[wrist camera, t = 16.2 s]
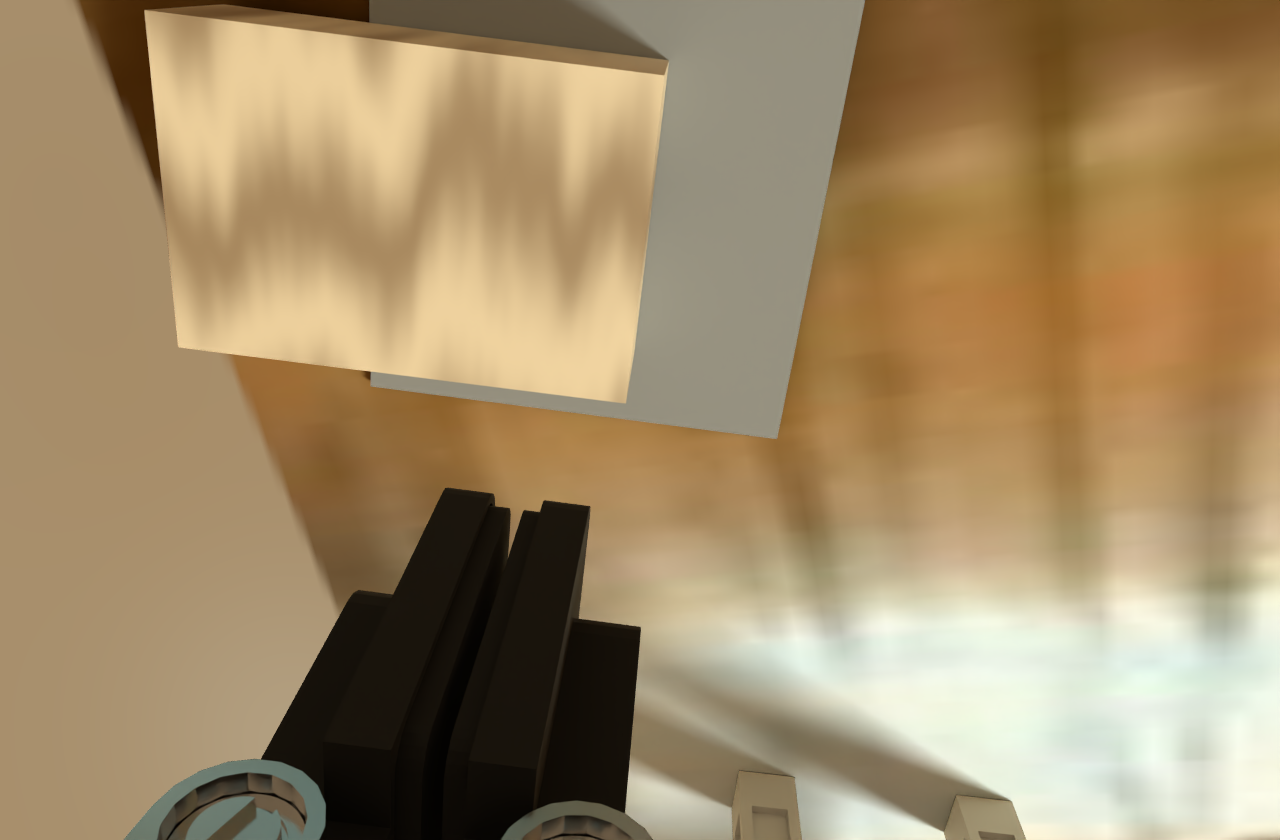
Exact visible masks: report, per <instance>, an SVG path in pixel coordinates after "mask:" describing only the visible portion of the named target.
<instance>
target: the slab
mask: <svg viewBox="0 0 1280 840" xmlns="http://www.w3.org/2000/svg"><path fill="white" fill-rule="evenodd" d="M144 12H145V22H146V32H147V42H148V52H149V62H150V72H151V82H152V92H153V101H154V111H155V121H156V131H157V141H158V151H159V161H160V171H161V181H162V191H163V201H164V210H165V220H166V230H167V240H168V249H169V260H170V269H171V280H172V289H173V299H174V309H175V318H176V329H177V339H178V347H180V348H189V349H197V350H204V351H213V352H220V353H228V354H236V355H244V356H252V357H260V358H268V359H276V360H284V361H292V362H299V363H307V364H315V365H323V366H331V367H339V368H347V369H355V370H363V371H371V372H379V373H387V374H395V375H403V376H411V377H419V378H427V379H434V380H442V381H450V382H458V383H466V384H474V385H482V386H490V387H498V388H506V389H514V390H522V391H530V392H538V393H546V394H554V395H562V396H569V397H577V398H585V399H593V400H601V401H609V402H617V403H625V404H626V399H627V393H628V387H629V381H630V375H631V369H632V363H633V357H634V350H635V343H636V334H637V326H638V317H639V309H640V301H641V292H642V284H643V275H644V267H645V259H646V250H647V242H648V233H649V225H650V217H651V208H652V200H653V191H654V183H655V175H656V166H657V158H658V149H659V141H660V133H661V124H662V116H663V107H664V99H665V90H666V82H667V74H668V65H669V60H663V59H655V58H647V57H639V56H631V55H623V54H615V53H607V52H599V51H591V50H583V49H575V48H567V47H559V46H551V45H543V44H535V43H527V42H519V41H512V40H504V39H496V38H488V37H480V36H472V35H464V34H456V33H448V32H440V31H432V30H424V29H416V28H408V27H400V26H392V25H384V24H376V23H368V22H361V21H353V20H345V19H337V18H329V17H321V16H313V15H305V14H297V13H289V12H281V11H273V10H265V9H257V8H249V7H241V6H233V5H225V4H220V5H207V6H193V7H179V8H165V9H151V10H144Z"/></svg>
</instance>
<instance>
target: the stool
mask: <svg viewBox="0 0 1280 840" xmlns="http://www.w3.org/2000/svg"><path fill="white" fill-rule="evenodd" d="M732 830H733V840H802V837H801V829H800V820H799V812H798V804H797V795H796V787H795V779H794V777H789V776H781V775H772V774H763V773H755V772H746V771H739V773H738V779H737V784H736V789H735V794H734V799H733V804H732ZM944 835H945V838H946V840H1026V838H1025V835H1024V832H1023V830H1022V827H1021V825H1020V822H1019V819H1018V817H1017V814H1016V811H1015V809H1014V806H1013V803H1012V801H1003V800H995V799H986V798H978V797H969V796H960V795H956V798H955V801H954V804H953V807H952V810H951V813H950V816H949V819H948V822H947V825H946V828H945V831H944Z"/></svg>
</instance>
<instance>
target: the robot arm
mask: <svg viewBox="0 0 1280 840" xmlns="http://www.w3.org/2000/svg"><path fill="white" fill-rule="evenodd" d="M510 516H511V514H510V508H503V507H496V506H495V497H494V494H492V493H484V492H477V491H469V490H461V489H454V488H445V490H444V491H443V493H442V495H441V497H440V499H439V501H438V503H437V505H436V507H435V509H434V511H433V514H432V516H431V518H430V520H429V522H428V524H427V526H426V528H425V530H424V532H423V534H422V536H421V538H420V540H419V543H418V545H417V547H416V549H415V551H414V553H413V555H412V557H411V559H410V561H409V563H408V565H407V567H406V569H405V572H404V574H403V576H402V578H401V580H400V582H399V584H398V586H397V588H396V590H395V592H394V594H393V595H391V594H384V593H376V592H368V591H361V590H358V591H356V592H355V593H353V594H352V596H351V597H350V599H349V600H348V602H347V603H346V605H345V607H344V609H343V611H342V612H341V614H340V616H339V618H338V620H337V621H336V623H335V625H334V627H333V629H332V631H331V632H330V634H329V636H328V638H327V640H326V642H325V643H324V645H323V647H322V649H321V651H320V653H319V654H318V656H317V658H316V660H315V662H314V663H313V665H312V667H311V669H310V671H309V673H308V674H307V676H306V678H305V680H304V682H303V683H302V685H301V687H300V689H299V691H298V693H297V695H296V696H295V698H294V700H293V702H292V704H291V705H290V707H289V709H288V711H287V713H286V714H285V716H284V718H283V720H282V722H281V724H280V725H279V727H278V729H277V731H276V733H275V734H274V736H273V738H272V740H271V742H270V744H269V746H268V747H267V749H266V751H265V753H264V754H263V756H262V758H261V760H260V759H250V760H241V761H231V762H226V763H223V764H220V765H217V766H214V767H211V768H208V769H204V770H202V771H199V772H197V773H196V774H194V775H192V776H190V777H189V778H187V779H185V780H183V781H181V782H180V783H178V784H176V785H175V786H173V787H172V788H171V789H170V790H169V791H168V792H167V793H166V794H165V795H164V796H163V797H161V798H160V799H159V800H158V801H157V802H156V803H155V804H154V805H153V806H152V807H151V808H150V809H149V810H148V812H147V813H146V814H145V815H144V816H143V817H142V819H141V820H140V821H139V822H138V823H137V825H136V826H135V827H134V828H133V829H132V830H131V832H130V833H129V834H128V835H127V836H126V838H125V839H124V840H653V839H652V838H651V836H650V835H649V834H648V832H647V831H646V830H645V828H643V827H642V826H641V825H639V824H638V823H637V822H635V821H634V820H633V819H631V818H630V817H629V816H628V815H626V814H625V805H626V794H627V783H628V771H629V760H630V748H631V737H632V725H633V714H634V703H635V691H636V680H637V668H638V657H639V645H640V633H641V627H637V626H629V625H621V624H614V623H606V622H598V621H591V620H583V619H579V610H580V601H581V592H582V583H583V574H584V565H585V556H586V547H587V538H588V529H589V519H590V506H584V505H576V504H569V503H561V502H553V501H546V500H545V501H543V504H542V507H541V511H540V512H534V511H526V510H524V511H523V513H522V516H521V520H520V523H519V526H518V529H517V532H516V535H515V538H514V541H513V545H512V548H511V551H510V554H509V557H508V548H509V533H510Z"/></svg>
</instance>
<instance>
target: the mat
mask: <svg viewBox="0 0 1280 840" xmlns="http://www.w3.org/2000/svg"><path fill="white" fill-rule="evenodd" d="M864 3H865V0H369V23H376V24H384V25H392V26H400V27H408V28H416V29H424V30H432V31H440V32H448V33H456V34H464V35H472V36H480V37H488V38H496V39H504V40H512V41H519V42H527V43H535V44H543V45H551V46H559V47H567V48H575V49H583V50H591V51H599V52H607V53H615V54H623V55H631V56H639V57H647V58H655V59H663V60H669V65H668V74H667V82H666V90H665V99H664V107H663V116H662V124H661V133H660V141H659V149H658V158H657V166H656V175H655V183H654V191H653V200H652V208H651V217H650V225H649V233H648V242H647V250H646V259H645V267H644V275H643V284H642V292H641V301H640V309H639V317H638V326H637V334H636V343H635V350H634V357H633V363H632V369H631V375H630V381H629V387H628V393H627V399H626V404H625V403H617V402H609V401H601V400H593V399H585V398H577V397H569V396H562V395H554V394H546V393H538V392H530V391H522V390H514V389H506V388H498V387H490V386H482V385H474V384H466V383H458V382H450V381H442V380H434V379H427V378H419V377H411V376H403V375H395V374H387V373H379V372H371V386H372V387H380V388H388V389H395V390H403V391H411V392H419V393H426V394H434V395H442V396H449V397H457V398H465V399H473V400H480V401H488V402H496V403H503V404H511V405H519V406H527V407H534V408H542V409H550V410H557V411H565V412H573V413H581V414H588V415H596V416H604V417H611V418H619V419H627V420H635V421H642V422H650V423H658V424H665V425H673V426H681V427H689V428H696V429H704V430H712V431H719V432H727V433H735V434H742V435H750V436H758V437H766V438H773V439H777V436H778V431H779V426H780V421H781V416H782V411H783V406H784V401H785V396H786V391H787V386H788V381H789V376H790V371H791V366H792V361H793V356H794V351H795V347H796V342H797V337H798V332H799V327H800V322H801V317H802V312H803V307H804V302H805V297H806V292H807V287H808V282H809V277H810V272H811V267H812V262H813V257H814V252H815V247H816V242H817V237H818V232H819V227H820V222H821V217H822V212H823V207H824V202H825V197H826V192H827V187H828V182H829V177H830V172H831V167H832V162H833V157H834V152H835V147H836V142H837V137H838V132H839V127H840V122H841V117H842V112H843V107H844V102H845V97H846V92H847V87H848V82H849V77H850V72H851V67H852V62H853V57H854V52H855V47H856V42H857V37H858V33H859V28H860V23H861V18H862V13H863V8H864Z"/></svg>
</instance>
